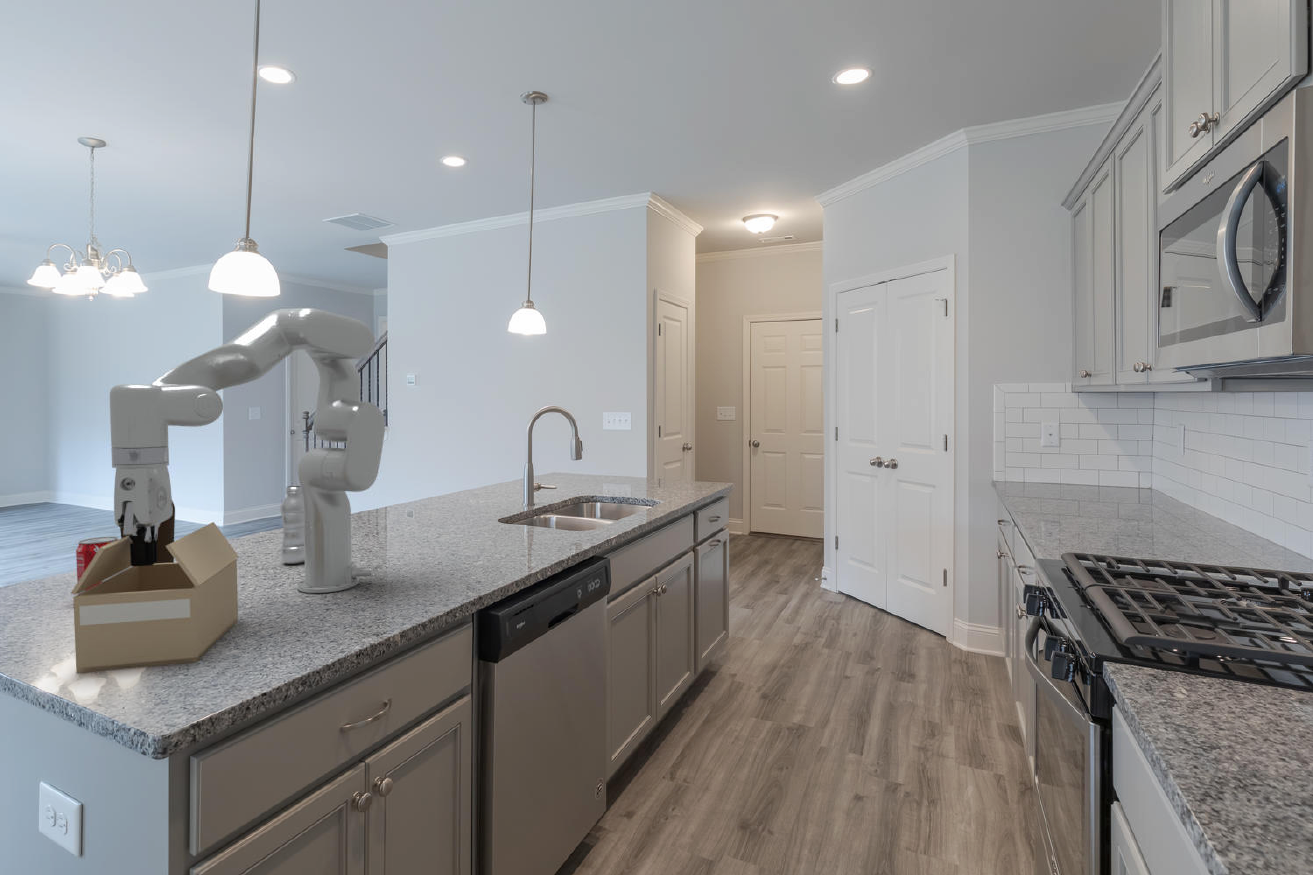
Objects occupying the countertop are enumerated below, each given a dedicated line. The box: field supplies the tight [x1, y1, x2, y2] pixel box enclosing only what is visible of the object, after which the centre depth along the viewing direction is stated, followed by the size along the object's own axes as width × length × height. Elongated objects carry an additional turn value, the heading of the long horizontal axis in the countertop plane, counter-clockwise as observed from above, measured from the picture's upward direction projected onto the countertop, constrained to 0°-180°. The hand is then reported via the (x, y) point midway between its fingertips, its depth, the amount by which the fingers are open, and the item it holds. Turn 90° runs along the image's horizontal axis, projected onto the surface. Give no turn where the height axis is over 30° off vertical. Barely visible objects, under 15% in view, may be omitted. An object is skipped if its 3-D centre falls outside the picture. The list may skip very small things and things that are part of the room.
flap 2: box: [166, 521, 239, 587], centre depth 111 cm, size 8×19×1 cm
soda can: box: [75, 535, 119, 595], centre depth 133 cm, size 7×7×13 cm
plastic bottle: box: [280, 485, 305, 565], centre depth 165 cm, size 6×7×20 cm
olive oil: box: [119, 500, 176, 564], centre depth 154 cm, size 11×11×25 cm
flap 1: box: [70, 525, 160, 596], centre depth 108 cm, size 8×19×1 cm
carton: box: [72, 558, 239, 674], centre depth 110 cm, size 16×20×12 cm
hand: (144, 564), depth 109 cm, fingers closed
